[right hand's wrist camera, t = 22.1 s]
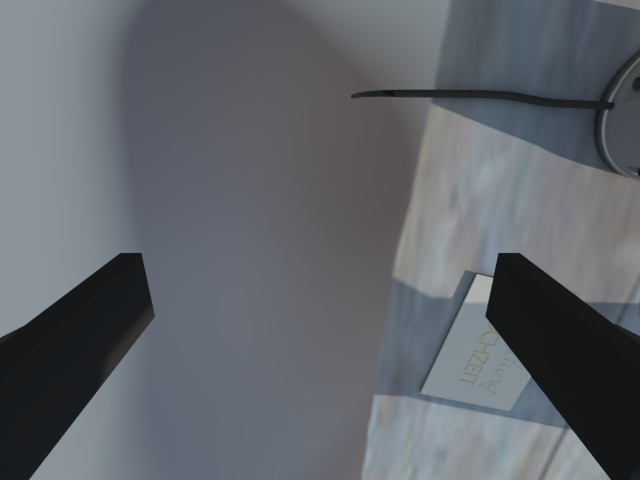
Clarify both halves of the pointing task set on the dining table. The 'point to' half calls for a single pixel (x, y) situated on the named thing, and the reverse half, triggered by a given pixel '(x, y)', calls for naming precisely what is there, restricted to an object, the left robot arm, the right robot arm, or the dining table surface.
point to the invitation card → (476, 358)
